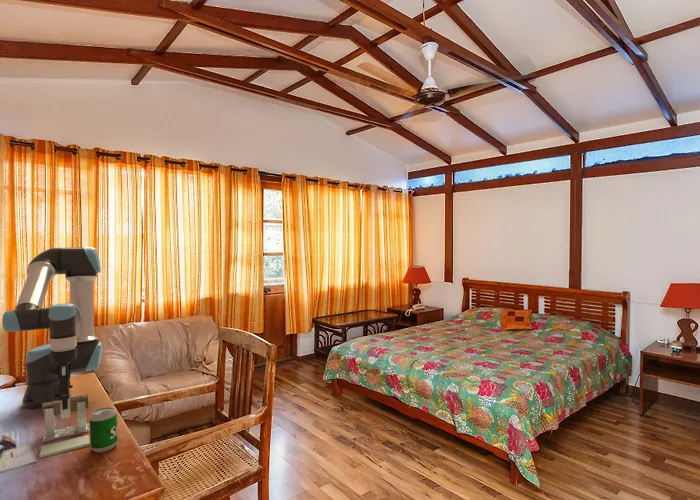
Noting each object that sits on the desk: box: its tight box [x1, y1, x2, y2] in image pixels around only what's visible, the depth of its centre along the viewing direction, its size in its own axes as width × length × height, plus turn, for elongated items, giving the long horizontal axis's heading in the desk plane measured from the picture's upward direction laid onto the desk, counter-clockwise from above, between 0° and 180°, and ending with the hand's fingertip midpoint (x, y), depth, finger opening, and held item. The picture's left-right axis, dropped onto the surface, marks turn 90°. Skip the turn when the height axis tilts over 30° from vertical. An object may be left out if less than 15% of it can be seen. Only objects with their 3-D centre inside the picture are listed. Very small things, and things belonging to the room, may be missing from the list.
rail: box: [41, 394, 89, 419], centre depth 141 cm, size 13×3×4 cm, turn 123°
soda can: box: [89, 406, 119, 453], centre depth 130 cm, size 8×8×12 cm
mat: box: [38, 434, 91, 459], centre depth 131 cm, size 7×13×1 cm, turn 123°
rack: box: [42, 401, 90, 443], centre depth 141 cm, size 7×13×10 cm, turn 123°
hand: (66, 412), depth 141 cm, fingers open, 9 cm apart
